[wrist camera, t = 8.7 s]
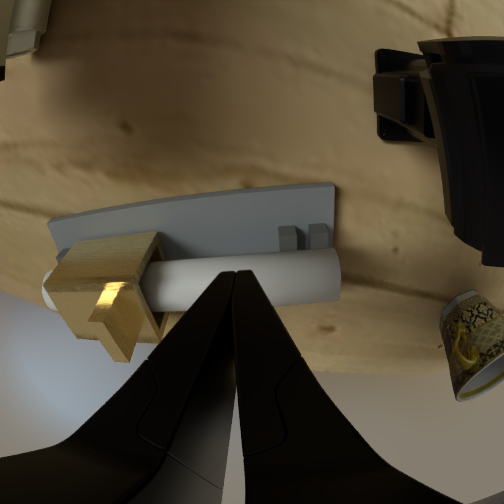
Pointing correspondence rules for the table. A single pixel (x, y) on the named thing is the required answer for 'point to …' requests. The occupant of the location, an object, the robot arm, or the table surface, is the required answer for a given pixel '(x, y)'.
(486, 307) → the ceramic cup
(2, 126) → the table surface
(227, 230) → the pipe run
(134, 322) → the coupling
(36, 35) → the ball valve
